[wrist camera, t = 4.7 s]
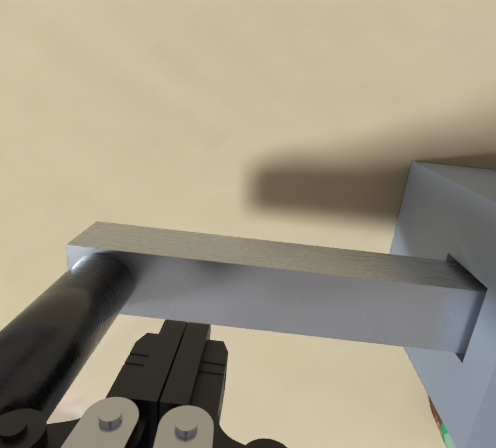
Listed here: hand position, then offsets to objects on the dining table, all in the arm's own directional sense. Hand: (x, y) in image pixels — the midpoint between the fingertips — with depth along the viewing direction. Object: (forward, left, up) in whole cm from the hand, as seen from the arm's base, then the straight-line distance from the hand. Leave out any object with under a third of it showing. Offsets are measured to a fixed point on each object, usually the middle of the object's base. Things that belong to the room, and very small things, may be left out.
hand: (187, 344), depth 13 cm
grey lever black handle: (0, +7, -6) cm, 9 cm away
